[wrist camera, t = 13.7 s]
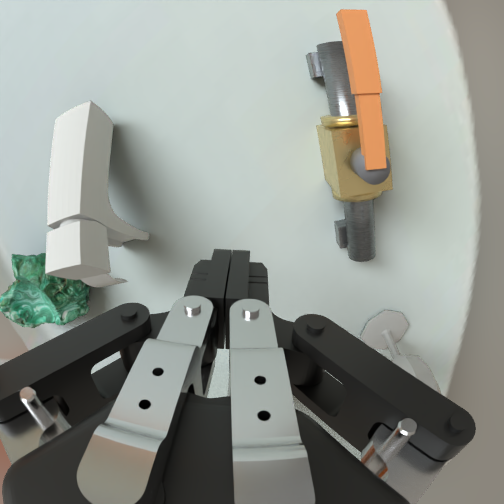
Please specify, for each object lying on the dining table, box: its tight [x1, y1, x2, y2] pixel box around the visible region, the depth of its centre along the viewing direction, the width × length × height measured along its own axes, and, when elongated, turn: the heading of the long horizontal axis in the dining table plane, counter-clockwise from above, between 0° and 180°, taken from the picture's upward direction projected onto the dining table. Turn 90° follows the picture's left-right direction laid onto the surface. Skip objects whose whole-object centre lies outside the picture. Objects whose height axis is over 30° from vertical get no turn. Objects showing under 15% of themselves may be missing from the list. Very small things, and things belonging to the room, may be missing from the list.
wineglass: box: [360, 310, 441, 394], centre depth 40 cm, size 9×9×21 cm
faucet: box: [45, 101, 149, 287], centre depth 35 cm, size 6×16×20 cm
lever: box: [336, 10, 391, 185], centre depth 24 cm, size 17×3×4 cm, turn 10°
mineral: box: [0, 253, 90, 328], centre depth 42 cm, size 18×16×10 cm
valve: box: [306, 41, 393, 262], centre depth 33 cm, size 26×6×8 cm, turn 12°
